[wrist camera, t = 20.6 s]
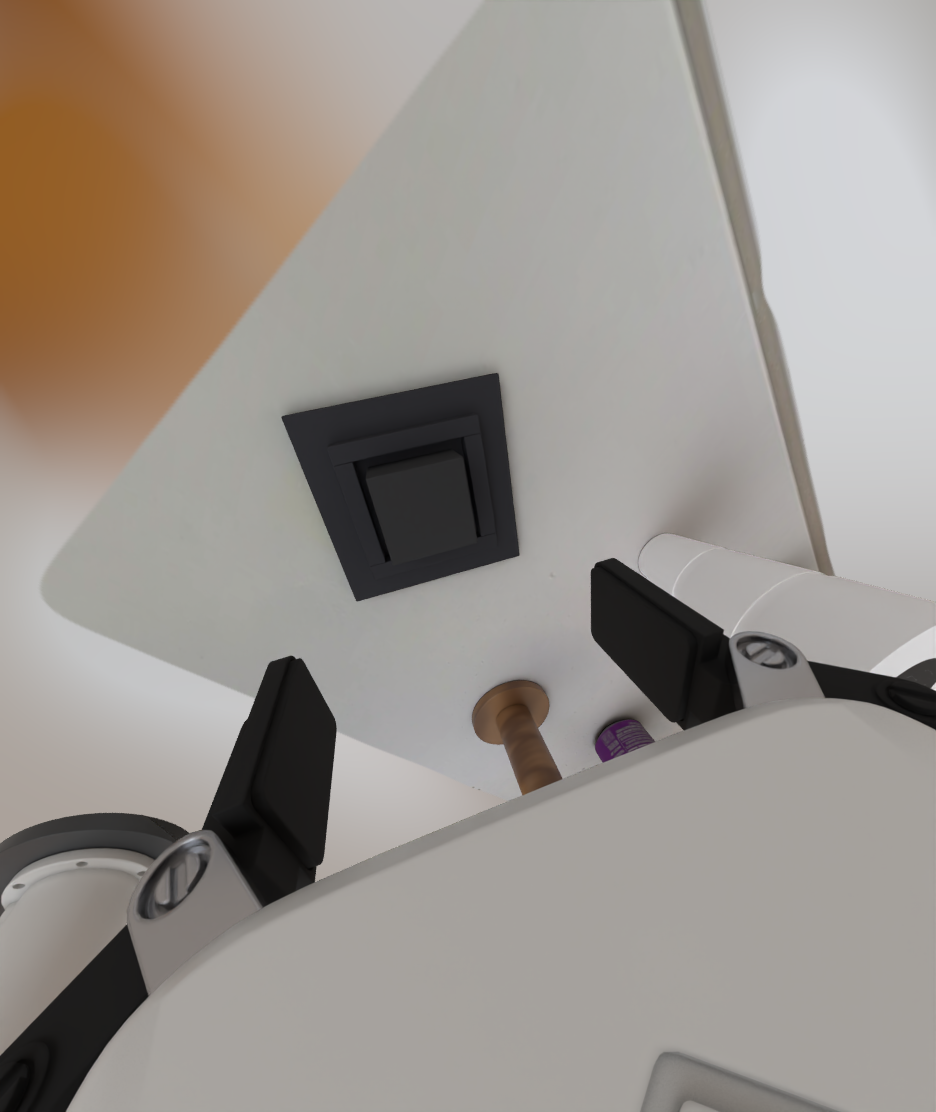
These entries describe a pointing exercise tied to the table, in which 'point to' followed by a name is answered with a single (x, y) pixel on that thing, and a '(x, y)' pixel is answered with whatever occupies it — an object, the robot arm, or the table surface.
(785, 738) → the robot arm
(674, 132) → the table surface
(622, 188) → the table surface
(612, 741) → the beverage can
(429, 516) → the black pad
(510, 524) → the base pad
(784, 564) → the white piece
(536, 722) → the stand
